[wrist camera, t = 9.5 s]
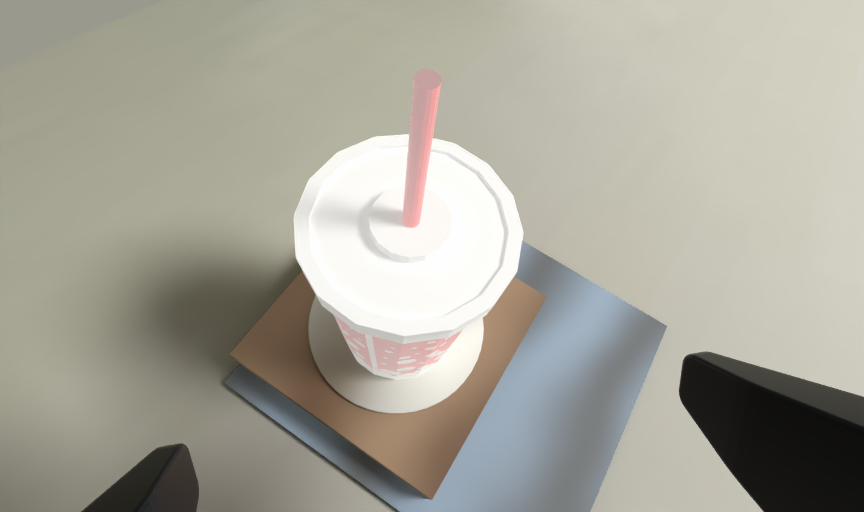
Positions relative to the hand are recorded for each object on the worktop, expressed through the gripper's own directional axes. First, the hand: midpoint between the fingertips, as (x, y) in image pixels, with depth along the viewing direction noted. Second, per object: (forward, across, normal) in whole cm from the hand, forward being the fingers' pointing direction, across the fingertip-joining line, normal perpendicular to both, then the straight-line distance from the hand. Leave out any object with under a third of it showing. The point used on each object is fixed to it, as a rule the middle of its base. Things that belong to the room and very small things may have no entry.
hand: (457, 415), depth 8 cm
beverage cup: (+12, 0, +4) cm, 13 cm away
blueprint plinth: (+12, -3, +7) cm, 14 cm away
